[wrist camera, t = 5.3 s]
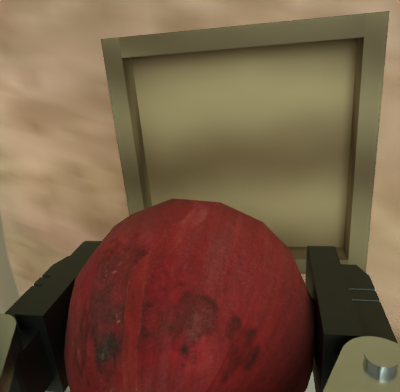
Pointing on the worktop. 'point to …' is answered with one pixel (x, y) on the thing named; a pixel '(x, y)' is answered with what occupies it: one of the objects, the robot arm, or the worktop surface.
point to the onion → (190, 306)
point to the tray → (257, 123)
